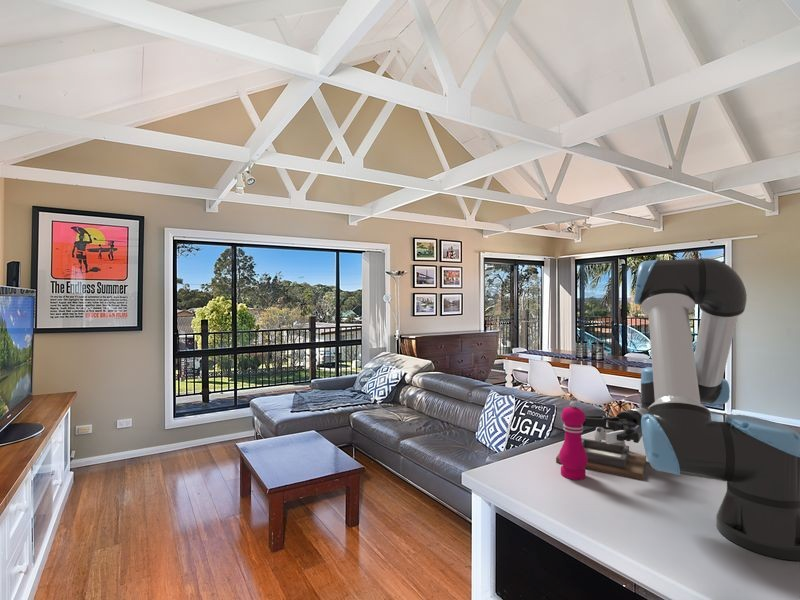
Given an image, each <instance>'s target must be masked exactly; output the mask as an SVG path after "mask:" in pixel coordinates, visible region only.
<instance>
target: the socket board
mask: <svg viewBox="0 0 800 600" xmlns="http://www.w3.org/2000/svg"><path fill="white" fill-rule="evenodd" d="M581 439H582V444H583V447H584V450H585V452H586V455H587V460H588V463H587V465H586V466H585V467H584V469H586V468H587V470H591V469H592V470H591V471H597V472H602V473H606V474H612V475H617V476H621V477H627V478H632V479H637V480H641V481H643V479H644V474H645V469H646V462H647V456H646V455H642V454H636V453H630V445H626V444H625V445H620V444H614V443H611V444H606V441H602V440H601V441H596V440H595V439H588V438H583V437H581ZM555 462H556V463H557V464H561V462H560V461H559V453H558V454H557V456H555Z"/></svg>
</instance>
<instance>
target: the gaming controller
mask: <svg viewBox="0 0 800 600" xmlns="http://www.w3.org/2000/svg"><path fill="white" fill-rule="evenodd" d="M606 427H608V425H606ZM609 432H614V431H613V430H607V429H604V428H602V427H595V431H594V437H593V440H596V441H602V440H603V441H604V442H606V433H609ZM625 441H626V440H624V441H621V442H616V443H614V444H620V445H626V442H625Z"/></svg>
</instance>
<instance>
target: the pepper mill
mask: <svg viewBox="0 0 800 600" xmlns="http://www.w3.org/2000/svg"><path fill="white" fill-rule="evenodd" d="M561 411H562V412H561V415H560V416H561V420H562V422H563V424H562V427H563V431H564V439H563V440H564V441H563V444H562V446H561V448H560V451H559V453H558V454H559V461H560V462H561V463H560V464H561V466H560V474H561V476H562V477H564V478H566V479H570V480H574V481H576V480H577V481H579V480H581V481H582V480H584V479H586V477H587V476H586V472H587V470H586V468H584V467H585V466H586V465H587V463H588V460H587V455H586V452H585V450H584V447H583V444H582V439H581V438H582V433H583V432H584V426H582V424H583V423H584V422H585V412H584V411H583V409H581V408H579V407H577V402H576V401H573V400H571V401H570V403H569V406H567V407H565V408H563V410H561Z"/></svg>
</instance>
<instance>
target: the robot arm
mask: <svg viewBox="0 0 800 600" xmlns="http://www.w3.org/2000/svg"><path fill="white" fill-rule="evenodd" d="M635 281H636V283H635V289H634V290H635V291H634V300H633V303H634V304H635V305H639V306H640V309H641V311H642V312H643V313H644V314H645V315H647V316H648V329H649V342H650V351H651V352H650V353H651V354H650V355H651V366H646V367H644V368H642V369H641V374H640V407H638V408H632V409H627V410H626V409H625V410H621V411H620V412H618V413H617V414H616V416H610V417H609V416H607V415H606V414H600V415H599V414H598V415H585V422H584V423H583V424H582V426H583V427H587V428H588V427H591V428H597V427H602V428H604V429H607V430H613V431H614V432H609V433H606V441H605V442H606V444H611V443H616V442H621V441H627V442H631V441H633V443H635V444H638V443H639V442H641V441H640V440H641V439H642V443H643V447H644V451H645V456H646V460H647V461H648V463H649V465H650V466H651V467H652V468H653V469H654V470H656V471H657V472H662V473H668V474H673V475H674V476H688V477H694V478H702V479H708V480H716V481H724V482H726V493H725V494H724V497H723V499H722V502H721V504H720V506H719V508H718V510H717V513H716V519H715V520H716V525H715V526H716V529H717V531H718V532H719V533H720V535H722V536H724V538H726V539H727V540H729V541H731V542H733V543H734V544H735V545H739V546H741V547H742V548H744V549H747V550H749V551H753V552H755V553H758V554H761V555H765V556H768V557H772V558H776V559H781V560H788V561H798V562H799V561H800V433H799V432H797V431H796V430H795V429H793V428H791V427H788V426H787V425H784V424H781V423H778V422H775V421H772V420H771V421H770V420H767V419H763V418H759V417H756V416H750V415H745V414H744V415H743V414H733V413H731V414H728V415H727V416H726V418H725V421H716V420H712V416H711V415H712V414H711V410H710V409H709V408H708V407H706V406H705V405H704V404H709V405H713V404H715V405H718V404H719V405H720V404H721V405H724V404H727V403H728V402H729V401H730V400H729V399H730V392H731V390H730V385H729V382H728V380H727V379H725V378H724V375H725V370H726V366H727V362H728V358H729V355H730V354H729V353H730V351H731V346H732V342H733V341H732V340H733V337H734V332H735V329H736V324H737V322H738V317H739V316H740V315H743V313H744V312H745V308H746V305H747V295H748V294H747V290H746V287H745V284H744V281H743V280H742V278H741V277H740V275H739V274H738V273H737V272H736V271H735V270H734V269H733V268H732V267H731V266H729V265H728V264H726V263H724V262H723V261H720V260H718V259H714V258H707V257H706V258H705V257H702V258H688V259H661V260H660V259H658V258H657V259H655V260H652V259H651V260H644V261H641V262H640V263H639V264H638V268H637V275H636V280H635ZM696 305H698V308H699V309H700V310H701V316H700V321H699V326H698V332H697V337H696V338H697V339H696V345H695V348H694V344H693V336H692V329H691V322H690V321H691V319H690V315H689V313H692V311H694V309H695V306H696ZM694 349H695V350H694ZM606 426H608V427H606Z"/></svg>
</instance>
